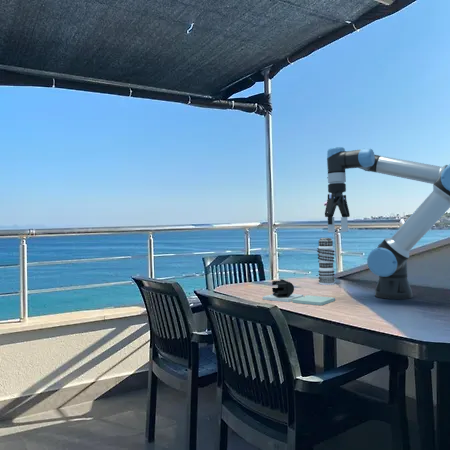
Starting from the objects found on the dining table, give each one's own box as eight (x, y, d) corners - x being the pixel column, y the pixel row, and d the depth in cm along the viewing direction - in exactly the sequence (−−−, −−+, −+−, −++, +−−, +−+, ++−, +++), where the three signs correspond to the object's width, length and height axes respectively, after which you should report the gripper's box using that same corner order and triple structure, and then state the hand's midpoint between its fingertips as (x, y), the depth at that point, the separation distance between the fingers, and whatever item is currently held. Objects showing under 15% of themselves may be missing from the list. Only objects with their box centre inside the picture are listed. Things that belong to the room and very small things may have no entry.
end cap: (294, 297, 182) (294, 281, 182) (278, 298, 181) (278, 282, 181) (287, 293, 192) (286, 278, 192) (272, 294, 190) (271, 279, 191)
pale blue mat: (278, 295, 195) (278, 292, 195) (303, 297, 187) (303, 294, 187) (262, 299, 185) (262, 296, 185) (288, 302, 177) (288, 299, 177)
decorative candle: (314, 283, 233) (313, 237, 233) (329, 282, 236) (328, 237, 236) (323, 285, 224) (322, 238, 224) (338, 284, 227) (337, 237, 227)
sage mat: (307, 297, 186) (307, 295, 186) (335, 300, 178) (335, 297, 178) (292, 302, 176) (292, 299, 176) (321, 305, 168) (321, 302, 168)
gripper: (340, 185, 196) (341, 231, 196) (315, 182, 177) (317, 232, 177) (356, 184, 191) (357, 231, 191) (332, 180, 172) (333, 232, 172)
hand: (338, 232), depth 184 cm, fingers open, 13 cm apart
